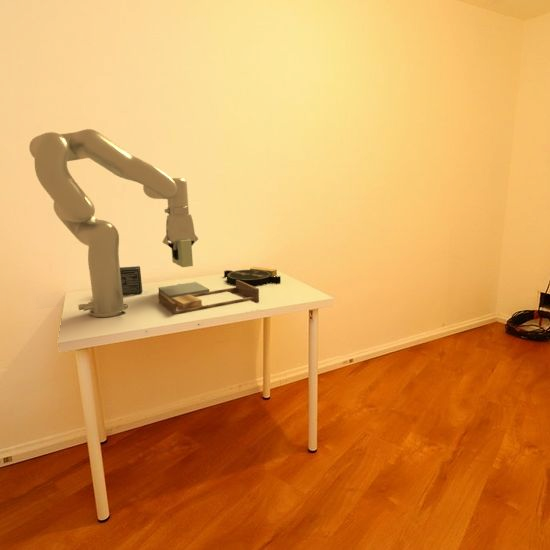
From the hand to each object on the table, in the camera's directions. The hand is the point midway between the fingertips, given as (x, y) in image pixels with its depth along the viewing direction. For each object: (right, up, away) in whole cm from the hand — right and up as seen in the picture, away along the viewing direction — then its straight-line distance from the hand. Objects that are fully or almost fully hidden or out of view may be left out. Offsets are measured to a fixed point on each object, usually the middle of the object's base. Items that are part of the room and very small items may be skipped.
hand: (182, 258), depth 150 cm
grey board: (0, -14, +3) cm, 15 cm away
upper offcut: (+5, -17, -14) cm, 22 cm away
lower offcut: (+5, -19, -13) cm, 24 cm away
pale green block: (0, -2, +1) cm, 2 cm away
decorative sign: (+26, -9, +27) cm, 38 cm away
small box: (-23, -14, +6) cm, 28 cm away
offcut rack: (+13, -17, -9) cm, 23 cm away
